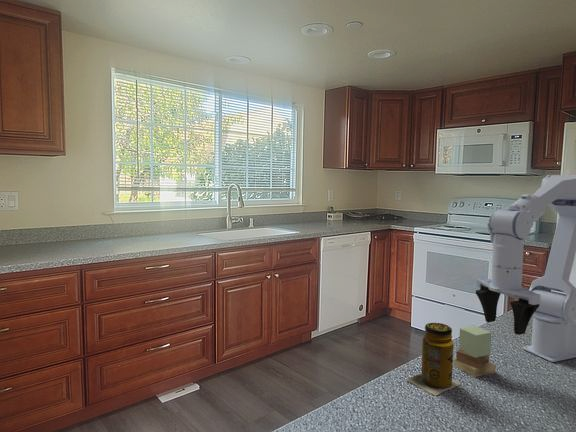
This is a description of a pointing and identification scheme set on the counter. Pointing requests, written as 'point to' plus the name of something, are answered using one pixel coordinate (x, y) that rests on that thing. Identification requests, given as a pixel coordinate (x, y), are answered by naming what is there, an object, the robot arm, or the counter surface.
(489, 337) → the sage block
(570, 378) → the counter surface
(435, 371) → the condiment
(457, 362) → the oak slab
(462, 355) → the walnut slab
